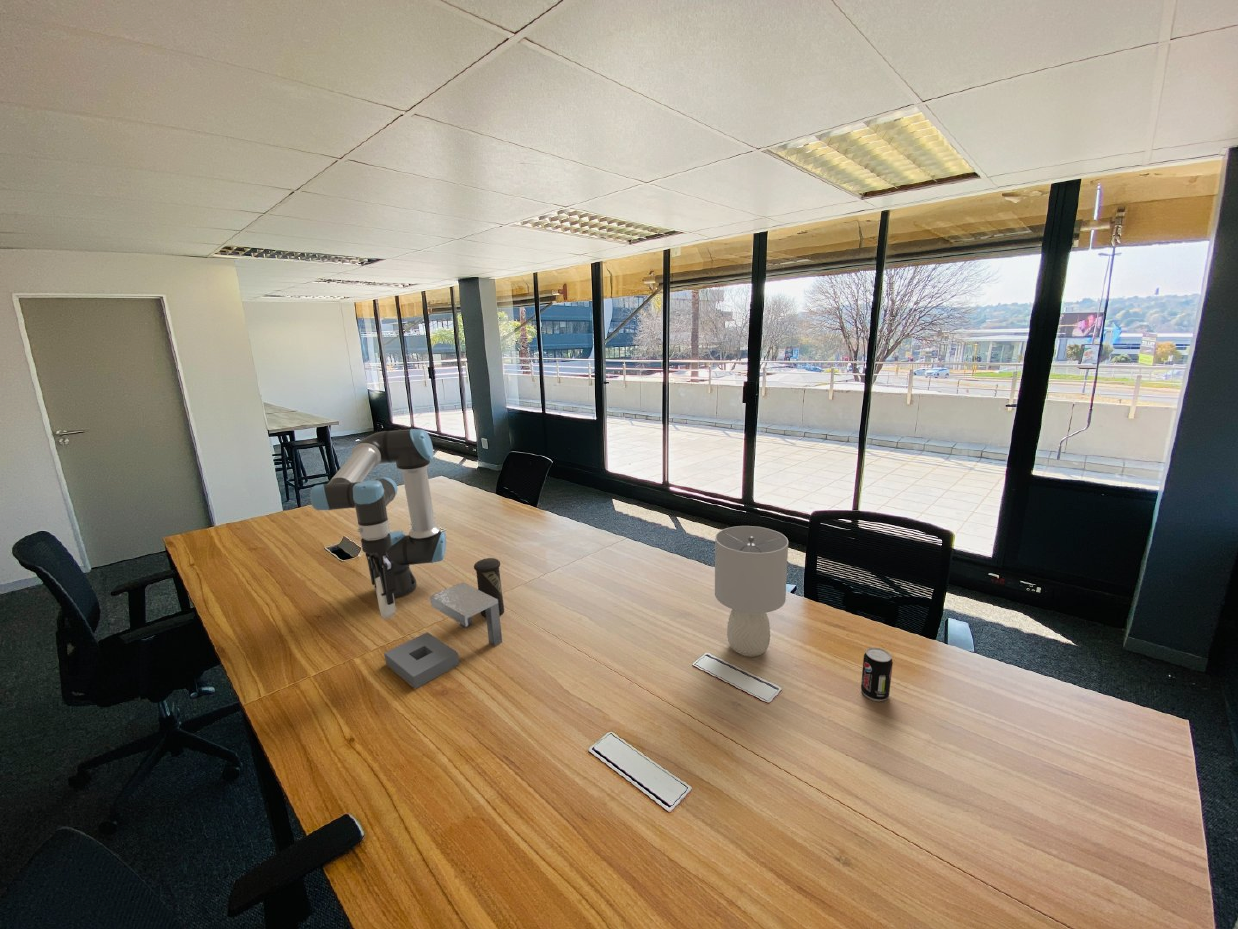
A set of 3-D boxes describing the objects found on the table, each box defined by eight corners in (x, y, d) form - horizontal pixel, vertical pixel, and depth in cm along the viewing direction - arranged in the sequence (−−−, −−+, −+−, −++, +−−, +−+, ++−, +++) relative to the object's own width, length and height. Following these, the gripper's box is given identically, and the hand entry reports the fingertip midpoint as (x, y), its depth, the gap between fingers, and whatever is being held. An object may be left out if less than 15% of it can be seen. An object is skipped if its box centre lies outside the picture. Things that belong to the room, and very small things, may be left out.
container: (498, 620, 172) (493, 567, 167) (475, 618, 174) (469, 566, 169) (509, 607, 180) (503, 556, 175) (486, 605, 182) (480, 555, 177)
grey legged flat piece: (435, 637, 163) (429, 596, 159) (467, 621, 172) (462, 582, 168) (470, 660, 150) (464, 615, 146) (502, 642, 159) (497, 599, 155)
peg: (379, 616, 144) (373, 578, 141) (391, 611, 147) (385, 574, 144) (384, 620, 142) (378, 582, 139) (397, 615, 144) (391, 577, 141)
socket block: (386, 664, 150) (384, 653, 149) (428, 643, 160) (427, 632, 159) (415, 689, 138) (413, 677, 137) (459, 664, 148) (458, 652, 148)
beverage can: (887, 706, 125) (892, 665, 122) (859, 697, 129) (862, 657, 126) (889, 691, 131) (894, 651, 128) (862, 682, 134) (865, 643, 131)
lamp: (783, 636, 156) (788, 527, 148) (782, 676, 138) (787, 554, 129) (719, 626, 163) (720, 521, 154) (709, 663, 144) (710, 547, 136)
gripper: (350, 533, 141) (363, 607, 147) (374, 547, 130) (387, 626, 136) (376, 525, 147) (388, 597, 152) (401, 538, 136) (413, 614, 141)
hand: (387, 610), depth 144 cm, fingers closed on peg, 3 cm apart
